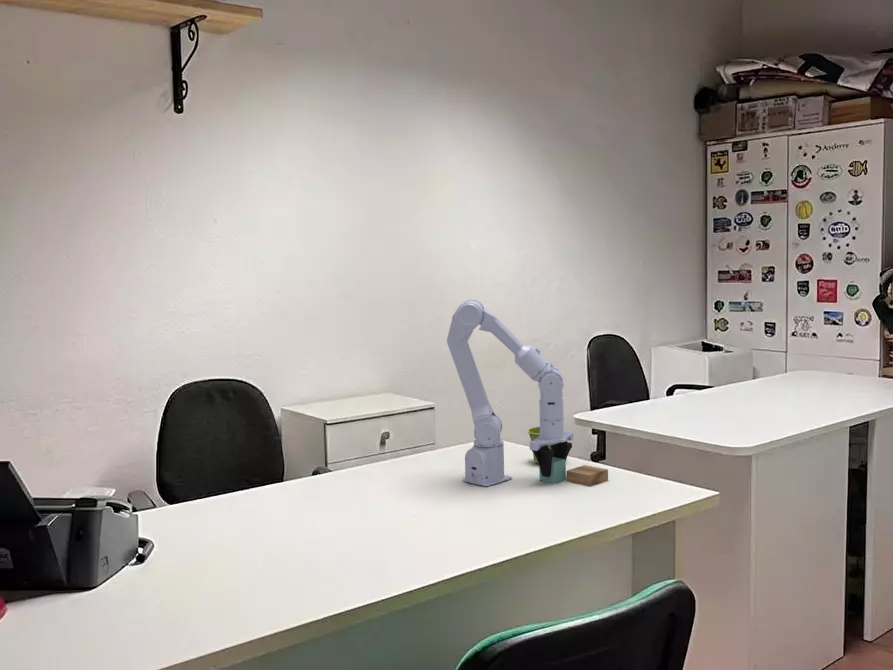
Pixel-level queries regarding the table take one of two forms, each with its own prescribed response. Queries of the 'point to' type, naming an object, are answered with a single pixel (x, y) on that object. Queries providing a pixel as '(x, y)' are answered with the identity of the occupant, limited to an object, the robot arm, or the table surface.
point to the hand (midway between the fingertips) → (552, 474)
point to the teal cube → (556, 471)
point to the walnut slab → (587, 475)
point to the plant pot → (533, 435)
